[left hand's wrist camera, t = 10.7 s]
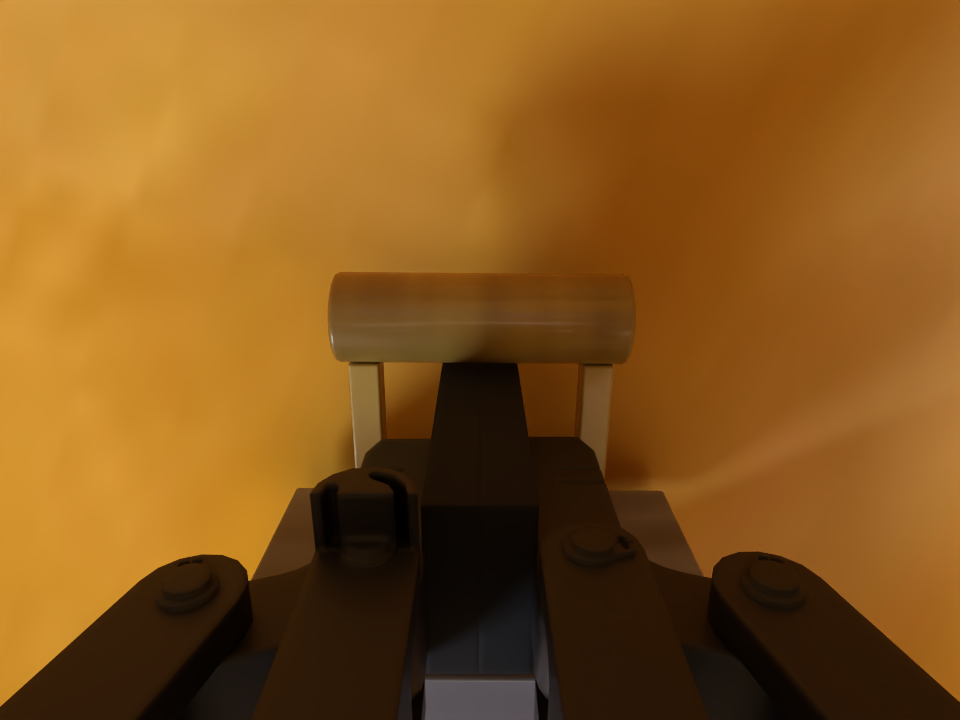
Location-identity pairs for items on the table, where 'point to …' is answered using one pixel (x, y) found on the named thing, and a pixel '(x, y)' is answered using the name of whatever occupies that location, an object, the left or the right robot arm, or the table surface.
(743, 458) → the table surface
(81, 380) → the table surface
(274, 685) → the left robot arm
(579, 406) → the drawer
